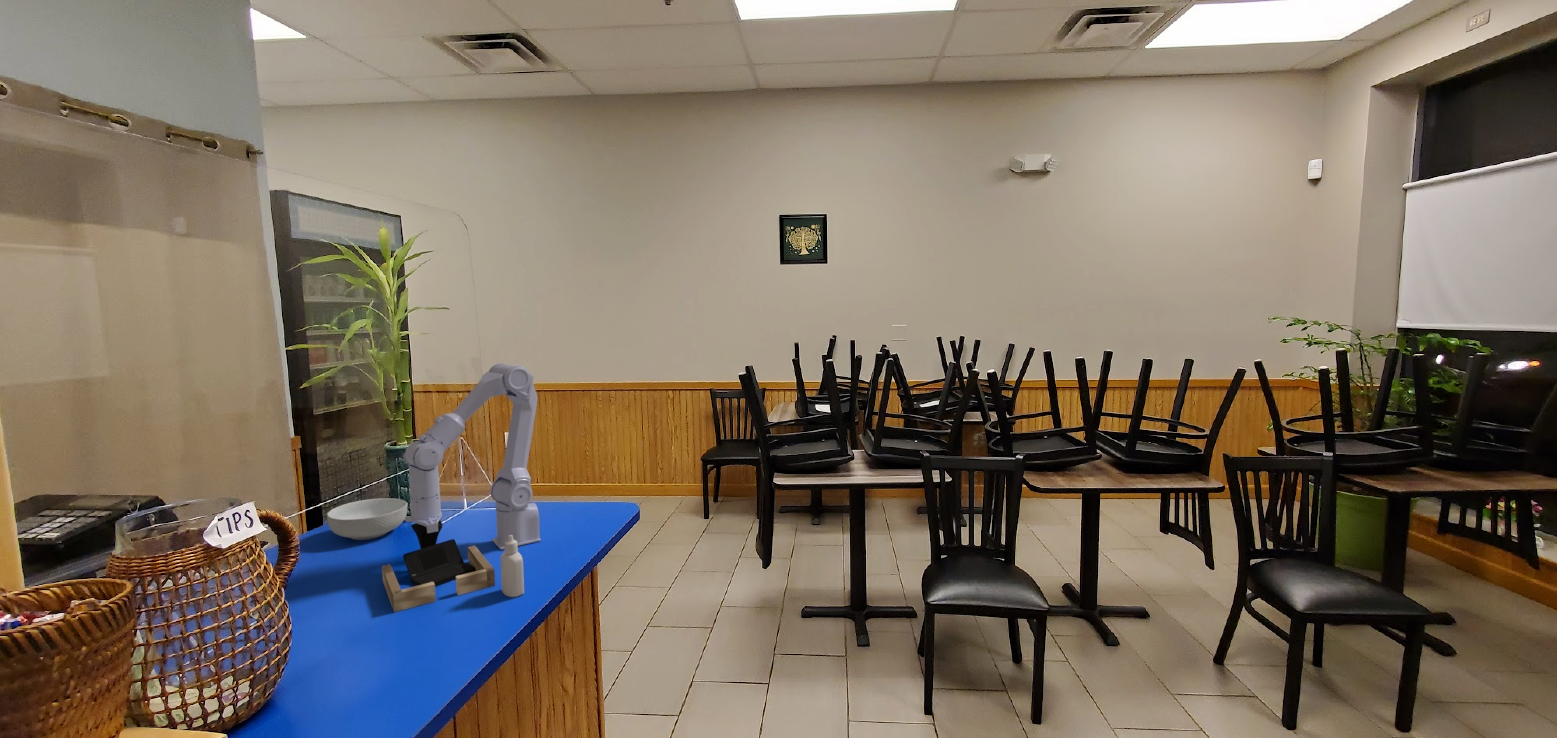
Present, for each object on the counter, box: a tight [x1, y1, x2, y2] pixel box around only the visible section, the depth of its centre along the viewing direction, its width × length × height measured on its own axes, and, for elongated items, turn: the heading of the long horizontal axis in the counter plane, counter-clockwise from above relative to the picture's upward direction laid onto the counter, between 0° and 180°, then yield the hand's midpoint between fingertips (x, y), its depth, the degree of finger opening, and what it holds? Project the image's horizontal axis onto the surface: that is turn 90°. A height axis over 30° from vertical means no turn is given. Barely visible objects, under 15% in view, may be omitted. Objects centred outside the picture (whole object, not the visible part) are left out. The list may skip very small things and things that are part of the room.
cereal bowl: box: [326, 497, 408, 541], centre depth 155 cm, size 17×17×7 cm
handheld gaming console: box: [402, 538, 476, 587], centre depth 132 cm, size 12×7×10 cm
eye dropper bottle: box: [500, 535, 525, 598], centre depth 124 cm, size 4×6×12 cm
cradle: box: [381, 544, 496, 613], centre depth 128 cm, size 18×16×4 cm
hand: (428, 554), depth 136 cm, fingers closed
